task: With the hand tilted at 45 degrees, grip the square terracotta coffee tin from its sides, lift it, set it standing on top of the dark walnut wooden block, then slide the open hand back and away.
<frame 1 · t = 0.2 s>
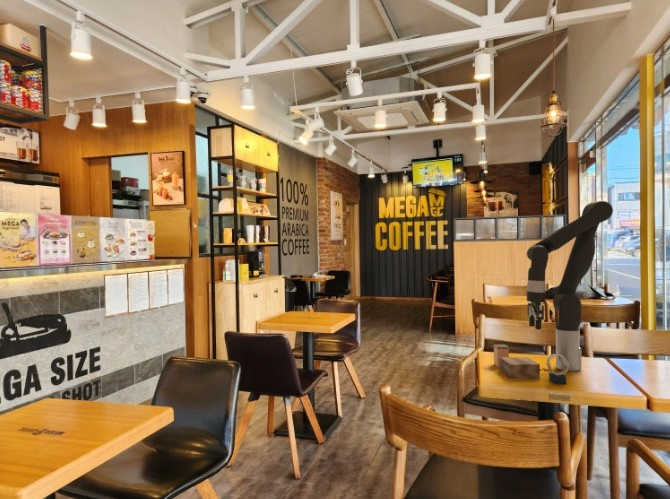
hand: (534, 327, 199), 18 cm above the table, tool pointing down, fingers open, 8 cm apart
walnut block: (519, 374, 191), on the table
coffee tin: (501, 365, 205), on the table
watch: (557, 382, 180), on the table
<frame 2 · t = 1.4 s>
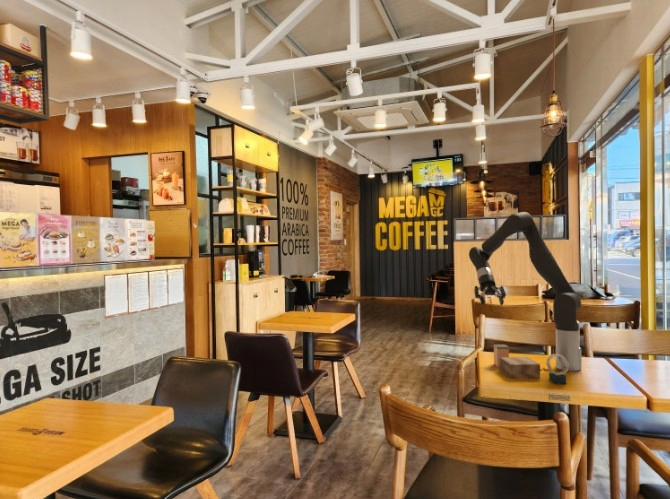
hand: (492, 304, 217), 26 cm above the table, tool tilted 45°, fingers open, 8 cm apart
nothing on the table moved.
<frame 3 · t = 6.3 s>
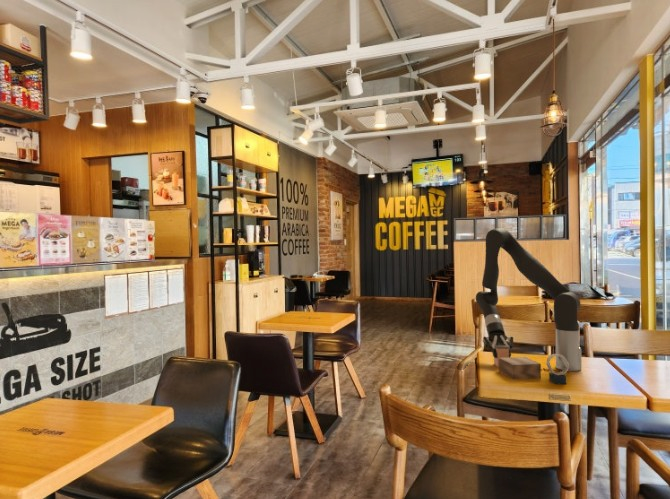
hand: (502, 357, 203), 4 cm above the table, tool tilted 45°, fingers closed on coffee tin, 5 cm apart
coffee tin: (501, 365, 205), on the table, touching gripper
everything else where it was.
when the fingers open (11 cm above the table, at t = 11.8 s): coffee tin stays where it is, point 6 cm above the table.
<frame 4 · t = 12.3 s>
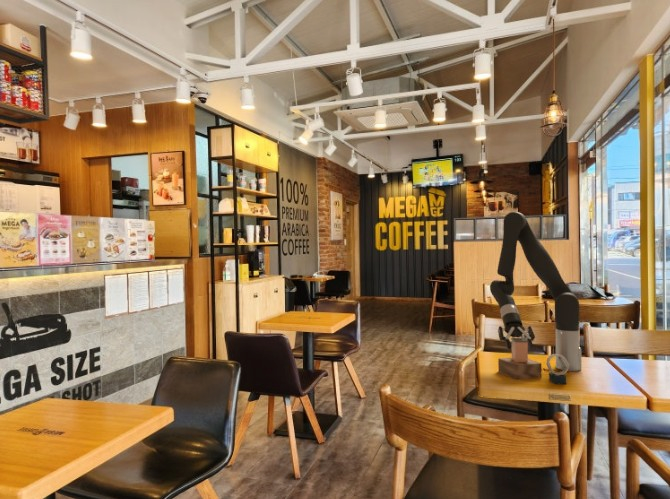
hand: (520, 348, 190), 11 cm above the table, tool tilted 45°, fingers open, 8 cm apart
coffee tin: (519, 360, 191), point 6 cm above the table
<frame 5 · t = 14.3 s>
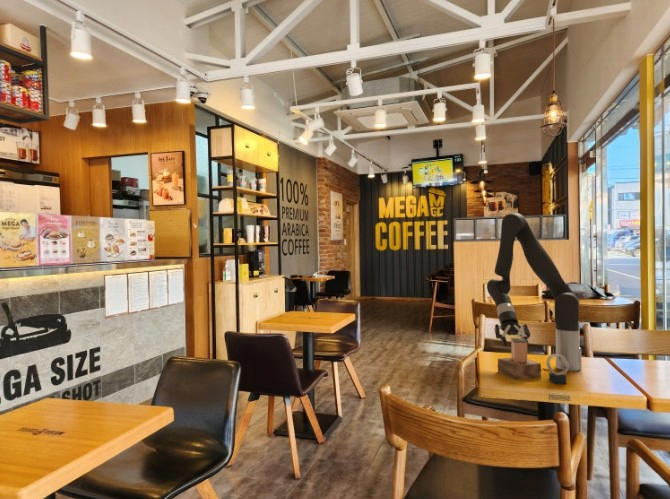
hand: (516, 345, 195), 11 cm above the table, tool tilted 45°, fingers open, 8 cm apart
walnut block: (518, 375, 191), on the table, touching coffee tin
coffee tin: (519, 360, 191), point 6 cm above the table, touching walnut block
everything else where it was.
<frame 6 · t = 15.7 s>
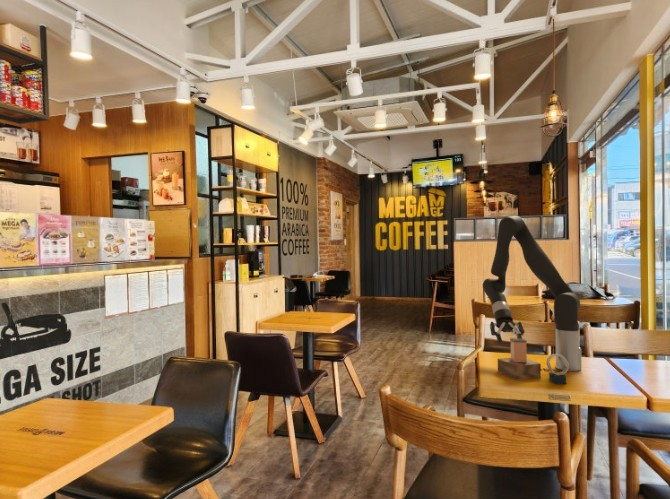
hand: (510, 342, 201), 11 cm above the table, tool tilted 45°, fingers open, 8 cm apart
nothing on the table moved.
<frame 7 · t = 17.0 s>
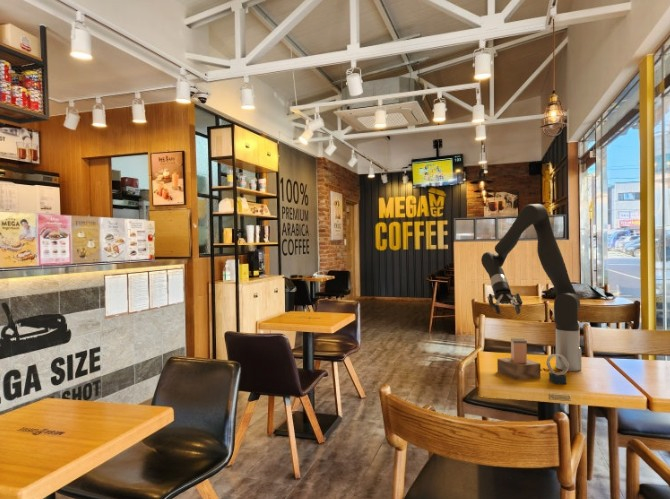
hand: (508, 313, 204), 24 cm above the table, tool tilted 45°, fingers open, 8 cm apart
nothing on the table moved.
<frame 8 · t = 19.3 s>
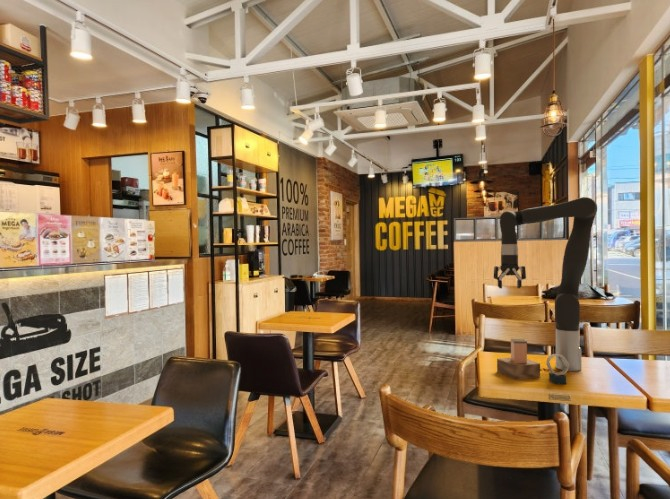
hand: (509, 288, 214), 34 cm above the table, tool pointing down, fingers open, 8 cm apart
at the end: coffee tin inside the target area on the walnut block (0.7 cm from its centre), point 6.0 cm above the walnut block's base; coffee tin tilted 0°; the gripper is holding nothing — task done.
